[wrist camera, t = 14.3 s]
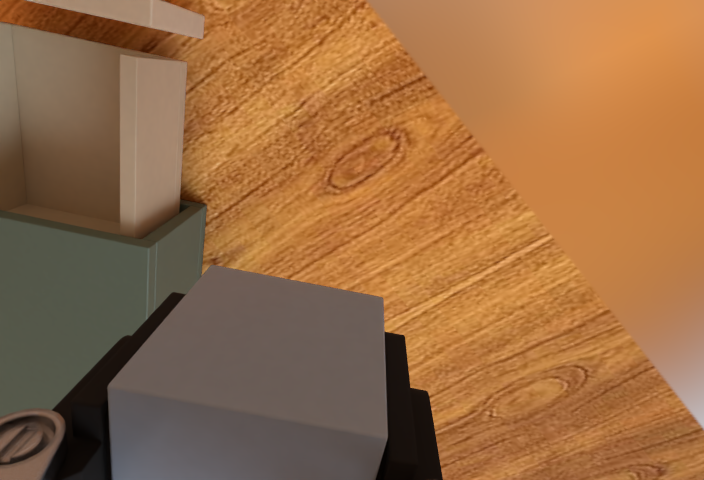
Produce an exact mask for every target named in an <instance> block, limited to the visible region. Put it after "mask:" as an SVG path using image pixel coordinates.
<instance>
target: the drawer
mask: <svg viewBox="0 0 704 480" xmlns="http://www.w3.org/2000/svg"><path fill="white" fill-rule="evenodd" d="M26 1H30V2H35V3H39V4H44V5H48V6H53V7H57V8H62V9H67V10H71V11H76V12H80V13H85V14H89V15H94V16H99V17H103V18H108V19H112V20H117V21H121V22H126V23H130V24H135V25H140V26H144V27H149V28H153V29H158V30H162V31H167V32H171V33H176V34H181V35H185V36H190V37H194V38H199V39H203V35H204V19H205V17H204V15H201V14H199V13H196V12H193V11H191V10H188V9H185V8H182V7H180V6H177V5H174V4H171V3H169V2H166V1H163V0H26ZM186 77H187V62H186V61H182V60H177V59H173V58H168V57H164V56H159V55H155V54H150V53H145V52H141V51H136V50H132V49H127V48H122V47H118V46H113V45H109V44H104V43H100V42H95V41H90V40H86V39H81V38H77V37H72V36H67V35H63V34H58V33H54V32H49V31H45V30H40V29H35V28H31V27H26V26H22V25H17V24H12V23H7V22H0V210H3V211H8V212H13V213H17V214H22V215H27V216H32V217H37V218H41V219H46V220H51V221H56V222H61V223H65V224H70V225H75V226H80V227H85V228H90V229H94V230H99V231H104V232H109V233H114V234H118V235H123V236H128V237H133V238H138V239H143V238H144V237H146V236H147V235H149V234H150V233H152V232H153V231H155V230H156V229H158V228H159V227H160V226H162V225H163V224H165V223H166V222H168V221H169V220H171V219H172V218H174V217H175V216H177V215H178V214H179V208H180V190H181V171H182V152H183V133H184V115H185V96H186Z"/></svg>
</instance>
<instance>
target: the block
mask: <svg viewBox="0 0 704 480" xmlns="http://www.w3.org/2000/svg"><path fill="white" fill-rule="evenodd" d="M107 389H108V411H109V433H110V456H111V478H112V480H376V476H377V473H378V470H379V466H380V463H381V459H382V456H383V452H384V449H385V446H386V442H387V439H388V426H387V395H386V364H385V333H384V302H383V298H382V297H378V296H373V295H368V294H363V293H357V292H352V291H347V290H342V289H336V288H331V287H326V286H321V285H315V284H310V283H305V282H300V281H294V280H289V279H284V278H279V277H273V276H268V275H263V274H258V273H252V272H247V271H242V270H237V269H231V268H226V267H221V266H216V265H211V266H210V267H209V268H208V269H207V271H206V272H205V273H204V274H203V275H202V276H201V278H200V279H199V280H198V281H197V282H196V283H195V285H194V286H193V287H192V288H191V289H190V290H189V292H188V293H187V294H186V295H185V296H184V297H183V299H182V300H181V301H180V302H179V303H178V304H177V306H176V307H175V308H174V309H173V310H172V311H171V312H170V314H169V315H168V316H167V317H166V318H165V319H164V321H163V322H162V323H161V324H160V325H159V326H158V328H157V329H156V330H155V331H154V332H153V333H152V335H151V336H150V337H149V338H148V339H147V340H146V342H145V343H144V344H143V345H142V346H141V347H140V349H139V350H138V351H137V352H136V353H135V354H134V355H133V357H132V358H131V359H130V360H129V361H128V362H127V364H126V365H125V366H124V367H123V368H122V369H121V371H120V372H119V373H118V374H117V375H116V376H115V378H114V379H113V380H112V381H111V382H110V383H109V385H108V388H107Z"/></svg>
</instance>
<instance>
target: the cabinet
mask: <svg viewBox="0 0 704 480" xmlns="http://www.w3.org/2000/svg"><path fill="white" fill-rule="evenodd" d="M206 210H207V205H205V204H200V203H196V202H191V201H186V200H181V199H180V208H179V214H178V215H177V216H175V217H174V218H172V219H171V220H169V221H168V222H166V223H165V224H163V225H162V226H160V227H159V228H158V229H156V230H155V231H153V232H152V233H150V234H149V235H147V236H146V237H144V238H143V239H138V238H133V237H128V236H123V235H118V234H114V233H109V232H104V231H99V230H94V229H90V228H85V227H80V226H75V225H70V224H65V223H61V222H56V221H51V220H46V219H41V218H37V217H32V216H27V215H22V214H17V213H13V212H8V211H3V210H0V417H2V416H5V415H7V414H9V413H12V412H16V411H20V410H23V409H32V408H42V409H50V410H52V409H53V408H54V407H55V406H56V405H57V404H58V403H59V402H60V401H61V400H62V399H63V398H64V397H65V396H66V395H67V394H68V393H69V392H70V391H71V390H72V388H73V387H74V386H75V385H76V384H77V383H78V382H79V381H80V380H81V379H82V378H83V377H84V376H85V375H86V374H87V373H88V372H89V371H90V370H91V369H92V368H93V367H94V366H95V365H96V364H97V363H98V362H99V360H100V359H101V358H102V357H103V356H104V355H105V354H106V353H107V352H108V351H109V350H110V349H111V348H112V347H113V346H114V345H115V344H116V343H117V342H118V341H119V340H120V339H121V338H122V337H124V336H127V335H130V336H132V335H133V334H134V333H135V331H136V330H137V329H138V328H139V327H140V326H141V325H142V324H143V323H144V322H145V321H146V320H147V319H148V317H149V316H150V315H151V314H152V313H153V312H154V311H155V310H156V309H157V308H158V307H159V306H160V305H161V304H162V302H163V301H164V300H165V299H166V298H167V297H168V296H169V295H170V294H171V293H172V292H177V293H182V294H187V293H188V292H189V290H190V289H191V288H192V287H193V286H194V285H195V283H196V282H197V281H198V280H199V279H200V278H201V274H202V261H203V248H204V235H205V223H206Z"/></svg>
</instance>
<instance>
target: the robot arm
mask: <svg viewBox="0 0 704 480" xmlns="http://www.w3.org/2000/svg"><path fill="white" fill-rule="evenodd" d="M185 295H186V294H182V293H177V292H172V293H171V294H170V295H169V296H168V297H167V298H166V299H165V300H164V301H163V302H162V304H161V305H160V306H159V307H158V308H157V309H156V310H155V311H154V312H153V313H152V314H151V315H150V316H149V317H148V319H147V320H146V321H145V322H144V323H143V324H142V325H141V326H140V327H139V328H138V329H137V330H136V331H135V333H134V334H133V335H132V336H130V335H127V336H124V337H122V338H121V339H120V340H119V341H118V342H117V343H116V344H115V345H114V346H113V347H112V348H111V349H110V350H109V351H108V352H107V353H106V354H105V355H104V356H103V357H102V358H101V359H100V360H99V362H98V363H97V364H96V365H95V366H94V367H93V368H92V369H91V370H90V371H89V372H88V373H87V374H86V375H85V376H84V377H83V378H82V379H81V380H80V381H79V382H78V383H77V384H76V385H75V386H74V387H73V388H72V390H71V391H70V392H69V393H68V394H67V395H66V396H65V397H64V398H63V399H62V400H61V401H60V402H59V403H58V404H57V405H56V406H55V407H54V408H53V409H52V410H50V409H42V408H32V409H23V410H20V411H16V412H12V413H9V414H7V415H5V416H2V417H0V480H112V478H111V456H110V433H109V411H108V389H107V388H108V385H109V383H110V382H111V381H112V380H113V379H114V378H115V376H116V375H117V374H118V373H119V372H120V371H121V369H122V368H123V367H124V366H125V365H126V364H127V362H128V361H129V360H130V359H131V358H132V357H133V355H134V354H135V353H136V352H137V351H138V350H139V349H140V347H141V346H142V345H143V344H144V343H145V342H146V340H147V339H148V338H149V337H150V336H151V335H152V333H153V332H154V331H155V330H156V329H157V328H158V326H159V325H160V324H161V323H162V322H163V321H164V319H165V318H166V317H167V316H168V315H169V314H170V312H171V311H172V310H173V309H174V308H175V307H176V306H177V304H178V303H179V302H180V301H181V300H182V299H183V297H184V296H185ZM384 333H385V364H386V395H387V426H388V439H387V442H386V446H385V449H384V452H383V456H382V459H381V463H380V466H379V470H378V473H377V476H376V480H443V479H442V472H441V466H440V460H439V454H438V448H437V442H436V436H435V429H434V423H433V417H432V411H431V405H430V399H429V395H428V392H427V391H424V390H419V389H414V388H410V381H409V372H408V362H407V353H406V344H405V336H404V335H399V334H394V333H388V332H384Z"/></svg>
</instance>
